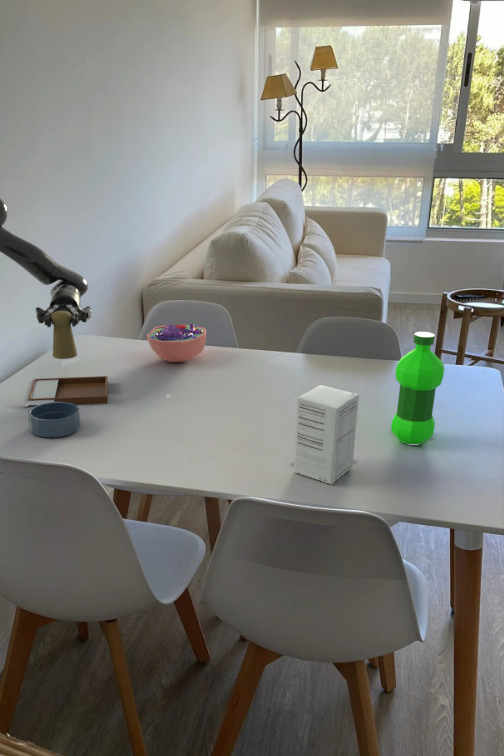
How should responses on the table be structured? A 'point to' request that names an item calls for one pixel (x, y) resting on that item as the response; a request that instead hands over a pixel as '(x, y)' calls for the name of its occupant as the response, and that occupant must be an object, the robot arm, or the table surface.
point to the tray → (78, 390)
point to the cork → (63, 335)
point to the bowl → (54, 419)
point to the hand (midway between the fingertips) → (61, 322)
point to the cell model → (177, 341)
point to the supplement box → (325, 433)
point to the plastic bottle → (417, 391)
